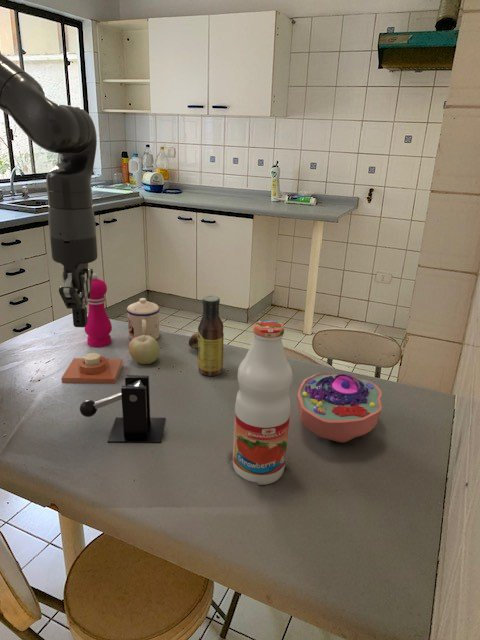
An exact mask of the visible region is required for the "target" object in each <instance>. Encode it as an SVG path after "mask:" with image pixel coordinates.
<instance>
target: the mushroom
mask: <svg viewBox="0 0 480 640" xmlns="http://www.w3.org/2000/svg"><path fill="white" fill-rule="evenodd" d="M188 346H189V347H190V348H192V349H197V350H198V331H197V332H195V333H193V334H192V335H191V336H190V337H189V339H188Z"/></svg>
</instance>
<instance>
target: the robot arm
mask: <svg viewBox="0 0 480 640" xmlns="http://www.w3.org/2000/svg"><path fill="white" fill-rule="evenodd" d="M0 110H1V111H2V112H4V113H5V114H6V115H8V116H9V117H11V118H12V119H13V121H14V123H16V125H17V126H18V127H19V128H20V129H21V131H22V132H23V133H24V134H25V135H26V136H27V137H28V138H29V139H30V140H31V141H32V143H34V144H35V145H36V146H38V147H39V148H41V149H43V150H45V151H47V152H50V153H52V154H57V163H56V166H55V167H54V168H52V169H50V170H49V171H48V172H47V173H46V176H45V177H46V179H45V185H46V194H47V195H46V196H47V205H48V231H49V242H50V251H51V259H52V261H54V262H55V263H57V264H61V265H62V266H63V269H62V270H63V271H62V272H61V280H62V282H63V284H64V286H59V288H58V293H59V295H60V297H61V300H62V301H63V304H64V306H65V307H66V309H67V310H70V309H71V313H72V324H73V327H75V328H85V326H86V325H87V323H88V319H87V317H88V306H89V305H88V299H90V293H91V285H92V276H93V273H94V269H93V268H89V264H90V263H93V262H95V261H96V260H98V242H97V241H98V240H97V227H96V217H95V211H94V205H93V190H92V189H93V188H92V177H93V171H94V169H95V168H94V167H95V162H96V161H95V159H96V155H97V154H96V153H97V144H98V137H97V136H98V135H97V130H96V126H95V123H94V121H93V118H92V116H91V115H90V114H89V113H88V112H87V111H86V110H85V109H84V108H81V107H80V106H75V105H68V104H67V105H66V104H58V103H56V102H55V101H52V100H50V99H49V98H48V97H46V93H45V90H44V88H43V86H42V84H41V83H40V82H39V81H38V80H37V79H36V78H34V77H33V76H32V75H30V74H29V73H28V72H26V71H25V70H24V69H22V68H21V67H20V66H19V65H17V64H16V63H14V62H13V61H12V60H10V59H9V58H7V56H5V55H3V54H2V53H1V52H0Z"/></svg>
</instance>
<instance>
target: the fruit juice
mask: <svg viewBox="0 0 480 640" xmlns="http://www.w3.org/2000/svg"><path fill="white" fill-rule="evenodd" d="M252 334H253V336H254V337H253V339H252V342H251V344H250V347H249V348H248V351H247V353H246V355H245V357H243V359H242V361H241V362H240V363H239V366H238V369H237V375H236V376H237V383H238V386H239V389H238V391H237V393H236V397H235V404H234V425H233V445H232V446H233V447H232V467H233V471H235V473H236V474H237V475H238V476H239V477H241V478H242V479H244V480H246V481H249V482H252V483H257V486H264V485H265V486H266V485H269V484H270V485H271V484H273V483H275V482H277V481H278V480H280V478H281V477H282V476H283V474H284V472H285V468H286V458H287V450H288V449H287V448H288V437H289V430H290V429H289V428H290V418H291V410H292V409H291V407H292V406H291V405H292V404H291V403H292V401H291V397H290V394H289V391H290V390H291V387H292V384H293V379H294V375H293V374H294V373H293V369H292V366H291V364H290V362H289V360H288V357H287V354H286V351H285V347H284V344H283V340H282V338H283V337H284V334H285V326H284V325H283V324H282V323H281V322H279V321H277V320H273V319H272V320H271V319H263V320H257V321H256V322H254V323H253V326H252Z"/></svg>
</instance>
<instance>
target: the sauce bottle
mask: <svg viewBox="0 0 480 640" xmlns="http://www.w3.org/2000/svg"><path fill="white" fill-rule="evenodd" d="M220 301H221V299H220V297H219V296H218V295H214V294H209V295H205V296H203V297H202V301H201V302H202V303H201V304H202V316H201V319H200V321H199V324H198V326H197V332H198V349H197V366H198V371H199V373H200V374H202V375H204V376H207V377H216V376H218V375H219V374H221V373H222V372H223V366H224V335H225V334H224V322H223V320H222V319H221V317H220V310H219V309H220V303H221V302H220Z"/></svg>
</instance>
